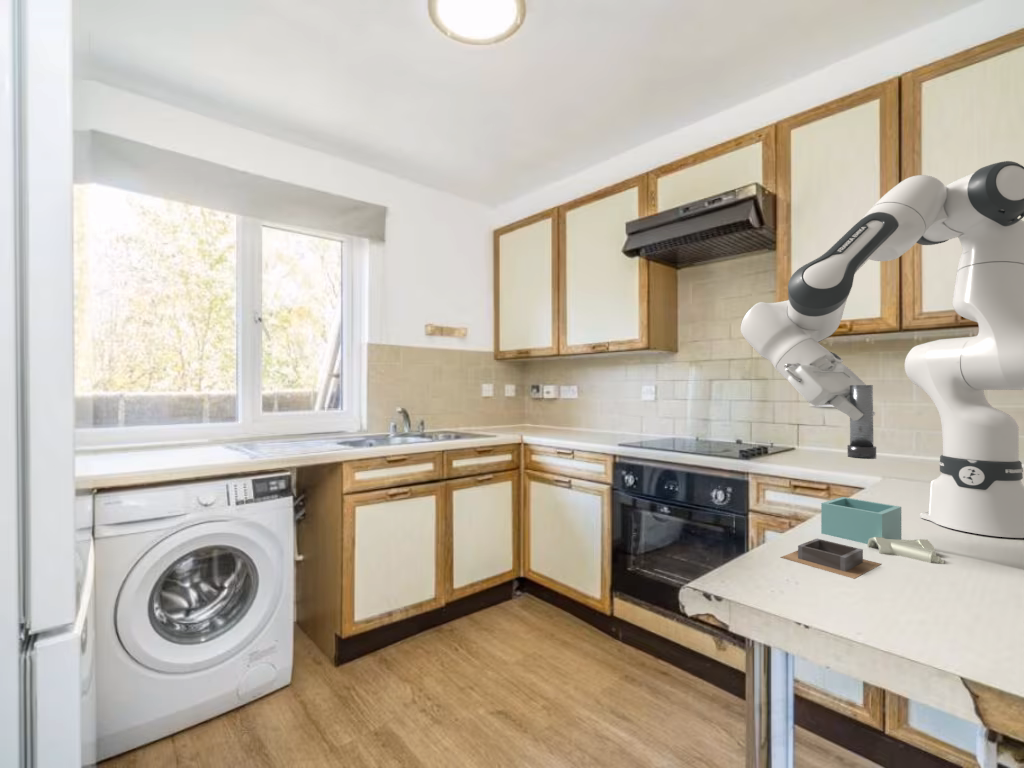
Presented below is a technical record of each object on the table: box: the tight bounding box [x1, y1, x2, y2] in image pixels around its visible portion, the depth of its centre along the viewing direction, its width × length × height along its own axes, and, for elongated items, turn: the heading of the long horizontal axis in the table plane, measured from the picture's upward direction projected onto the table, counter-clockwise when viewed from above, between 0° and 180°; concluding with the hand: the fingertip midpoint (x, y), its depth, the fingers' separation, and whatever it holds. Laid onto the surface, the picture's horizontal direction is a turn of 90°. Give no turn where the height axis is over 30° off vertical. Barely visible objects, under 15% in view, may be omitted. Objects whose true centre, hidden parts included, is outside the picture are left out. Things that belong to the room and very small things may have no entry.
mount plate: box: [780, 538, 882, 579], centre depth 73 cm, size 10×10×4 cm
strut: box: [846, 384, 877, 460], centre depth 86 cm, size 4×4×13 cm
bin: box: [820, 496, 902, 545], centre depth 86 cm, size 9×9×7 cm
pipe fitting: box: [867, 537, 946, 564], centre depth 76 cm, size 8×4×7 cm
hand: (866, 417), depth 86 cm, fingers closed on strut, 3 cm apart
